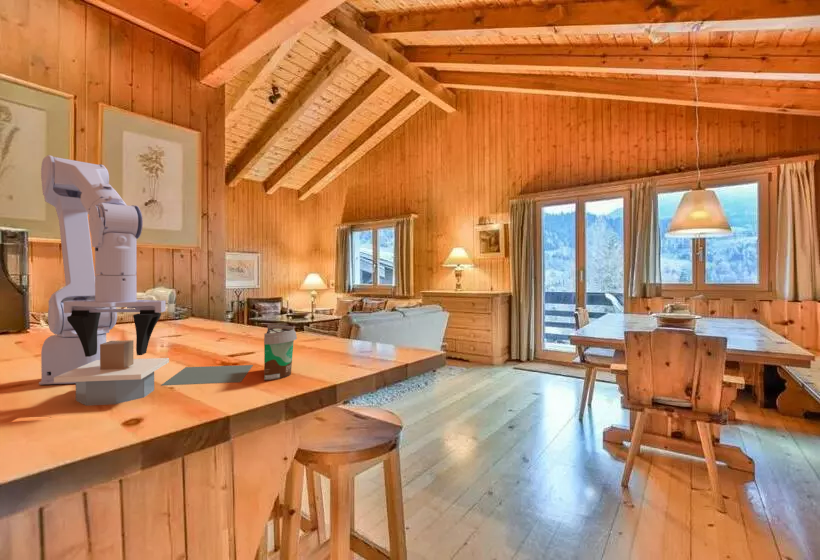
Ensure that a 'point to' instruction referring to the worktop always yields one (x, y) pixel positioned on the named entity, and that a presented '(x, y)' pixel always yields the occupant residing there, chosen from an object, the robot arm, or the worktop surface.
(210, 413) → the worktop surface
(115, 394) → the bowl
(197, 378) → the mat
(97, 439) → the worktop surface
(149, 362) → the lid
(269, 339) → the food container
